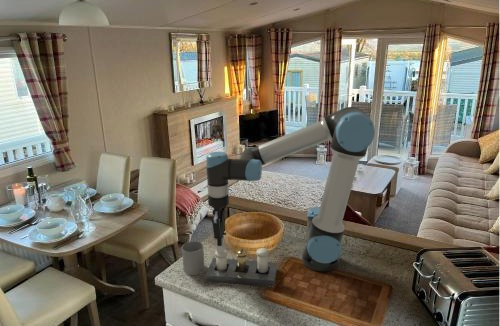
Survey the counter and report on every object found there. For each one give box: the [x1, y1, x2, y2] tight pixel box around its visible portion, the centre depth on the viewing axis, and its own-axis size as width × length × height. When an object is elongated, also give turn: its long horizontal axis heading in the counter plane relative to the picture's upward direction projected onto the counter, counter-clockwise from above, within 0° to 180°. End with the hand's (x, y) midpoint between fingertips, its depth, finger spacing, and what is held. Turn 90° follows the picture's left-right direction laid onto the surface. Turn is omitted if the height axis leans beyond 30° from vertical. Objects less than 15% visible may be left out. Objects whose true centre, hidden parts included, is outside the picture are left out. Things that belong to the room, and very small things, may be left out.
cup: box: [181, 240, 206, 276], centre depth 147 cm, size 8×8×10 cm
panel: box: [204, 257, 278, 288], centre depth 143 cm, size 26×12×3 cm, turn 81°
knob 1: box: [214, 249, 228, 271], centre depth 143 cm, size 5×5×8 cm
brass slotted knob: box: [235, 248, 248, 271], centre depth 141 cm, size 4×4×8 cm
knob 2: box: [255, 247, 270, 274], centre depth 140 cm, size 5×5×8 cm
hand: (220, 251), depth 142 cm, fingers closed
